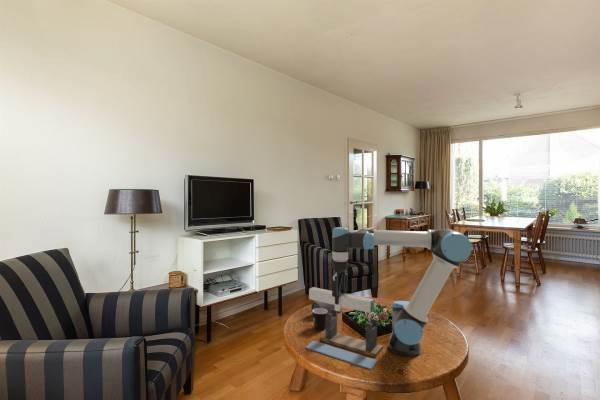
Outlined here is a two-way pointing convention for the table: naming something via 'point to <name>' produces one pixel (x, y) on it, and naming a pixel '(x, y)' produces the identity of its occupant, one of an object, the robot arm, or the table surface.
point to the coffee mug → (319, 319)
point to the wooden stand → (349, 342)
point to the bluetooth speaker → (322, 306)
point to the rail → (342, 299)
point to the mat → (342, 354)
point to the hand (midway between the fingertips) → (339, 308)
